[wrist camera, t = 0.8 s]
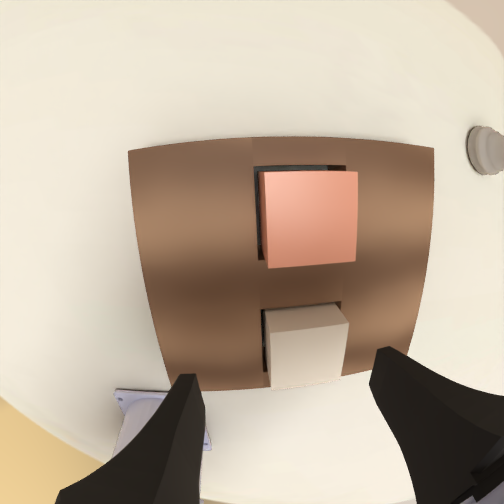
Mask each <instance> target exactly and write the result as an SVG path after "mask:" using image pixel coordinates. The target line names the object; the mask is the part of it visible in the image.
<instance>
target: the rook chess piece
mask: <svg viewBox="0 0 504 504" xmlns="http://www.w3.org/2000/svg"><path fill="white" fill-rule="evenodd" d="M467 147H468V154H469V158H470V160H471V163H472V164H473V166H474V167H475V169H476V170H477V171H478V172H479V173H481V174H482V175H487V174H489V175H494V174H498V173H499V172H500V171H503V170H504V136H503V135H501V134H500V133H499V132H496V131H495V130H493V129H492V128H490V127H482V126H476V127H475V128H474V129H473V130H472V131H471V133H470V135H469V138H468V146H467Z"/></svg>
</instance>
